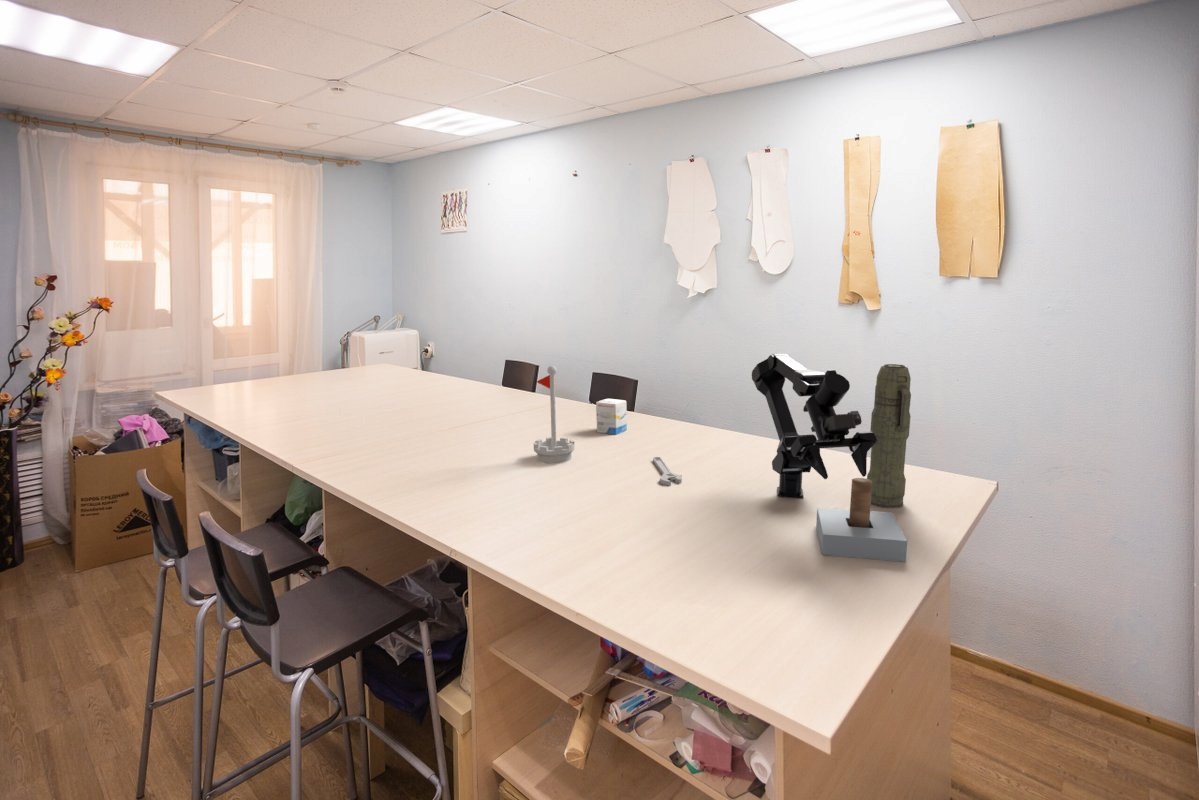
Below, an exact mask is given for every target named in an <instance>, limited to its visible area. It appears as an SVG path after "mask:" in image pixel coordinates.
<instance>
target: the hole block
mask: <svg viewBox="0 0 1199 800" xmlns="http://www.w3.org/2000/svg"><path fill="white" fill-rule="evenodd" d="M849 518H850V509H847V508H845V509H843V508H831V507H816V525H815V526H816V530H817V531H816V533H817V535H818V536H817V537H818V541H819V546H820V551H821V555H823V556H831V557H832V556H834V557H843V558H844V557H845V558H846V557H847V558H856V559H869V560H882V561H889V562H890V561H893V562H901V563H906V561H907V549H908V540H907V537H906V536H905V533H904V532H903V530H902V528H901V526H900V524H899V522H898V520H897V519H896V517H895V515H894V513H893V512H891V511H890V512H887V511H875V510H874V511H871V510H870V520H869V528H862V527H849Z"/></svg>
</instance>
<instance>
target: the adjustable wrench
mask: <svg viewBox="0 0 1199 800" xmlns="http://www.w3.org/2000/svg"><path fill="white" fill-rule="evenodd" d="M652 462H653V463H654V464H655V466H656V468H657V469H658V470H659V472H660V473H661V476H660V478H659V482H660V484H661V485H664V486H670V487H671V486H672V482H674V483H677V484H679V485H680V484H682V483H683V477H682V474H676V473H673V472H672V471H670V468H668V466H667V464H666V462H665V461H664V460H663V458H662V457H660V456H654V457H652Z"/></svg>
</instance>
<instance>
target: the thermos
mask: <svg viewBox="0 0 1199 800" xmlns="http://www.w3.org/2000/svg"><path fill="white" fill-rule="evenodd" d="M911 380H912V378H911V373H910V371H909V367H908V366H905V365H903V364H897V363H896V364H895V363H894V364H893V363H890V364H889V363H888V364H884V365H881V366H880V368H879V371H878V373H877V375H876V382H875V383H876V384H875V389H874V390H875V391H874V404H873V408H872V411H871V418H870V419H871V420H870V430H869V431H871V432H874V434H875V435H876V438H877V440H878V441H877V442H876V443H875V444H874V445H873V446H872V447H871V448H870V460H869V461H870V462H869V464H870V465H869V471H867V473H866V479H869V480H871V481H872V492H871V506H874V507H879V508H885V509H897V508H898V509H899V508H900V507H903V506H904V496H905V495H906V481H907V480H906V475H905V465H906V463H905V462H906V450H907V440H908V439H909V437H910V430H911V429H910V428H911V427H910V425H911V412H910V408H911V397H912V394H911Z"/></svg>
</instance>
